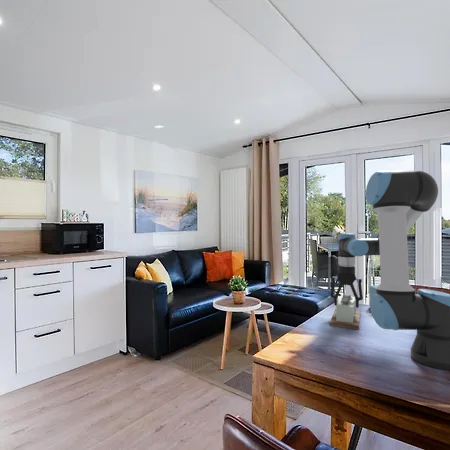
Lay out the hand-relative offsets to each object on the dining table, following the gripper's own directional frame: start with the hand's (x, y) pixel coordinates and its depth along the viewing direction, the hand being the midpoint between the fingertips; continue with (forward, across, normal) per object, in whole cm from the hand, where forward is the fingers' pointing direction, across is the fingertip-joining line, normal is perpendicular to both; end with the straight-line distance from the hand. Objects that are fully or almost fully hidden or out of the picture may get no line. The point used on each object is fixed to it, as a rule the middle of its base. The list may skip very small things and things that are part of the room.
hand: (346, 313), depth 155 cm
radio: (+3, -17, -22) cm, 28 cm away
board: (+3, 0, +2) cm, 3 cm away
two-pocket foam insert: (+1, 0, 0) cm, 1 cm away
